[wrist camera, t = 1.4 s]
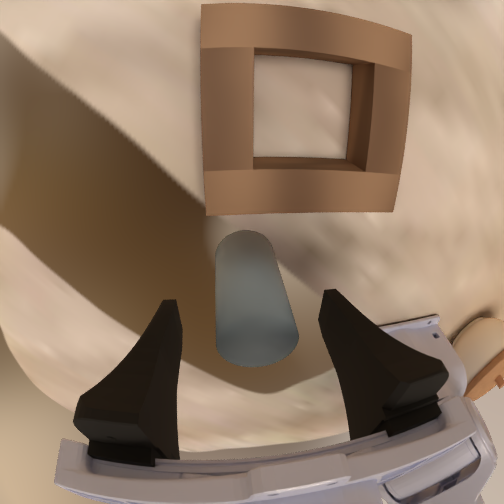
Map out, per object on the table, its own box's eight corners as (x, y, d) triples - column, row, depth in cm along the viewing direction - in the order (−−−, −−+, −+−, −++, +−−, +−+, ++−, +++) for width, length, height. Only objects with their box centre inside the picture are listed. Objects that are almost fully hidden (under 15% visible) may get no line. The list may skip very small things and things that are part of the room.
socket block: (386, 39, 11) (411, 35, 9) (373, 195, 16) (392, 212, 14) (204, 17, 10) (201, 4, 8) (208, 197, 16) (206, 216, 13)
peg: (274, 229, 17) (303, 310, 11) (271, 277, 19) (293, 363, 13) (213, 232, 17) (212, 316, 11) (217, 280, 19) (219, 369, 13)
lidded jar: (488, 290, 24) (532, 345, 16) (501, 316, 28) (533, 361, 20) (426, 353, 28) (459, 414, 20) (450, 366, 32) (477, 414, 24)
